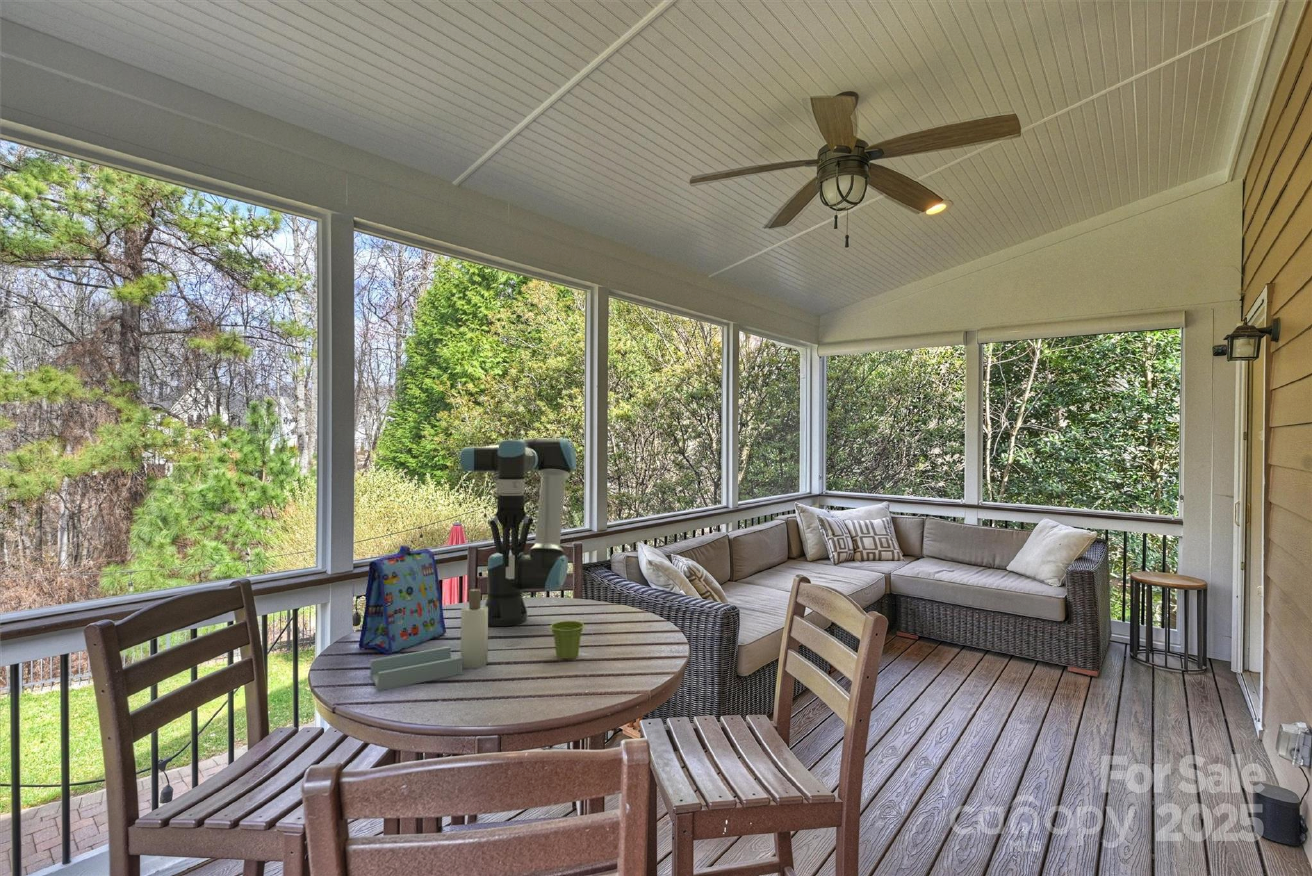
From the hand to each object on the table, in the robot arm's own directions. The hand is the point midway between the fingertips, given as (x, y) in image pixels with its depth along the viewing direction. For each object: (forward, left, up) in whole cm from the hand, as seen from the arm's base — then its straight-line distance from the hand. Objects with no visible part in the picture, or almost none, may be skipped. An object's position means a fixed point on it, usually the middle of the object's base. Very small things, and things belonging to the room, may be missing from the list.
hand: (510, 578), depth 171 cm
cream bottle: (+10, 0, -22) cm, 24 cm away
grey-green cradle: (+25, 0, -22) cm, 33 cm away
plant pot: (-14, +8, -22) cm, 28 cm away
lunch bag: (+22, -31, -23) cm, 44 cm away
